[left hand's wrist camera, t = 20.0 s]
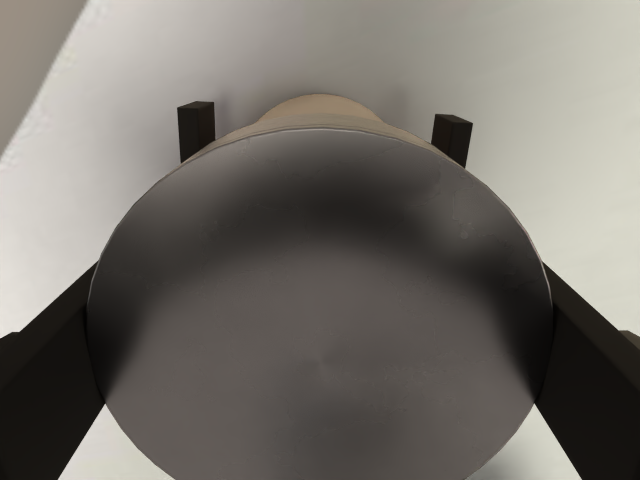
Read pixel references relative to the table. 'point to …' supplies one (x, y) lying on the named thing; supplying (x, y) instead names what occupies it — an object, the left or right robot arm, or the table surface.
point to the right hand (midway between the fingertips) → (325, 111)
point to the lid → (319, 310)
